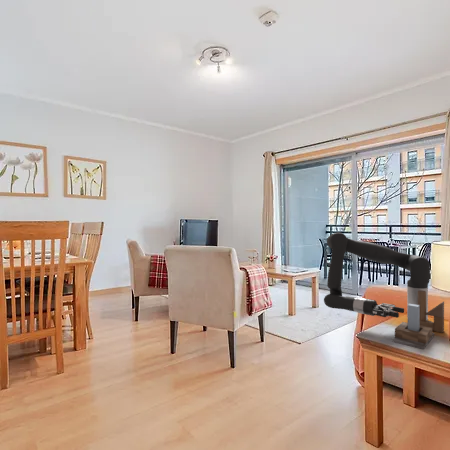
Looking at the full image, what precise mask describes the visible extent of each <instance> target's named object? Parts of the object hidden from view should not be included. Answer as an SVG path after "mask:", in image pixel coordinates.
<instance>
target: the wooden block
mask: <svg viewBox="0 0 450 450" xmlns="http://www.w3.org/2000/svg"><path fill="white" fill-rule="evenodd" d="M418 305H420V325H421V326H426V327H431V328H432V332H436V333H441V334H442V333H444V331H445V301H442V302H440V303H439V304H438V305H436V306H434V307H433V308H432V309H430V310H428V312H427V313H426V291H423V290H419V291H418ZM426 315H428V316H430V317H431V316H432V317H433V321H432V320H429V319H428V320H426Z"/></svg>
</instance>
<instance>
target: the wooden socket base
mask: <svg viewBox="0 0 450 450" xmlns="http://www.w3.org/2000/svg"><path fill="white" fill-rule="evenodd" d="M434 336H435V332H433V331H432V328H431V327H426V326H421V325H420V332H418V331H413V330H408V322H405V321H402V322H401V323H400V324H398V326H396V327H395V328H394V337H392V338H391V342H392V343H397V344H401V345H405V346H409V347H413V348H418V349H421V350H425V348H426V346H427V345H428V344H429V343H430V342H431V340H432V339H433V337H434Z"/></svg>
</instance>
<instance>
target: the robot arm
mask: <svg viewBox="0 0 450 450" xmlns="http://www.w3.org/2000/svg"><path fill="white" fill-rule="evenodd" d="M326 244H327V246H328V247H329V248H330V249H331V259H330V263H329V269H328V273H327V281H326V282H327V284H326V286H327V288H328V289H329V293H328V294H326V295H324V297H323V302H324V304H325V305H326V307H328V308H331V309H339V310H346V311H349V312H355V313H357V314H361V315H367V316H371V317H374V316H376V317H377V316H378V317H382V318H387V317H388V318H389V317H393V318H397V319H398V318H399V316H400V314H399V313H401V314H404V313H405V308H404V307H400V306H396V305H395V304H390V303H386V302H385V303H384V302H382V303H380V304H378V302H377V301H376V300H375V299H369V298H362V297H354V296H348V295H347V296H346V295H345V296H343V291H342V281H343V265H344V260H345V254H346V253H349V254H352V255H355V256H357V257H360V258H363V259H366V260H368V261H372V262H376V263H378V264H379V263H380V264H385V265H393V266H396V267H398V268H401V269H403V270H407V271H408V272H410V273H409V274H410V277H409V279H408V280H407V281H406V282H407V284H406V285H407V286H406V287H407V288H406V293H407V295H406V297H407V298H406V299H407V311H406V312H407V315H406V317H407V319H408V304H415V305H418V291H419V290H423V291H426V313H427V312H429V283H430V279H431V265H430V261H429V260H428V259H427V258H426V257H423V256H419V255H414V254H408V253H403V252H399V251H397V250H394V249H393V248H390V247H388V246H384V245H381V244H377V243H375V242H368V241H363V240H355V239H351V238H349V237H347V236H346V234H345V233H342V232H334V233H332V234H330V235H329V236H328V237H327V239H326ZM426 320H428V321H429V315H426Z"/></svg>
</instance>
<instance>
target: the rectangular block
mask: <svg viewBox="0 0 450 450" xmlns="http://www.w3.org/2000/svg"><path fill="white" fill-rule="evenodd" d="M407 323H408V330H413V331H418V332H420V305H415V304H408V318H407Z"/></svg>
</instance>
